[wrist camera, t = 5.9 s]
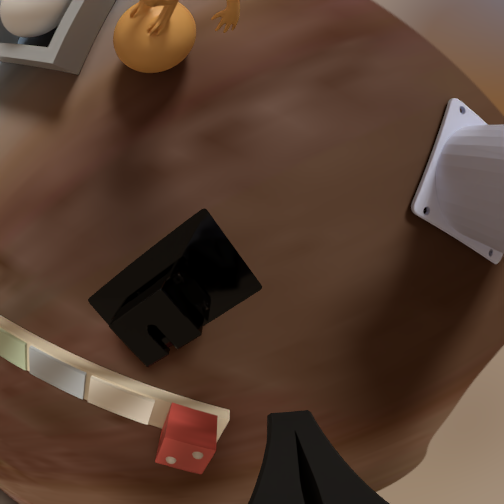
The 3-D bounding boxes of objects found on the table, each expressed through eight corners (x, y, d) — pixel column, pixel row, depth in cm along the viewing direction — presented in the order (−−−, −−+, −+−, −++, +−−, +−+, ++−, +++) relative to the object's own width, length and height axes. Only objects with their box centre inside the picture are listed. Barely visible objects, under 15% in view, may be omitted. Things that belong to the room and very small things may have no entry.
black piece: (138, 373, 20) (121, 419, 16) (67, 294, 18) (32, 329, 14) (291, 279, 19) (307, 318, 14) (216, 174, 17) (208, 182, 12)
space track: (230, 409, 21) (230, 457, 16) (214, 436, 22) (212, 482, 17) (-13, 306, 18) (-47, 333, 13) (-11, 340, 18) (-40, 369, 14)
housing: (132, -27, 12) (117, -51, 9) (78, 74, 14) (52, 63, 11) (48, -30, 11) (28, -46, 8) (1, 61, 13) (-26, 54, 10)
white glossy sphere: (102, -16, 12) (71, -52, 7) (66, 49, 13) (23, 26, 8) (48, -18, 11) (13, -45, 7) (16, 43, 12) (-28, 26, 8)
